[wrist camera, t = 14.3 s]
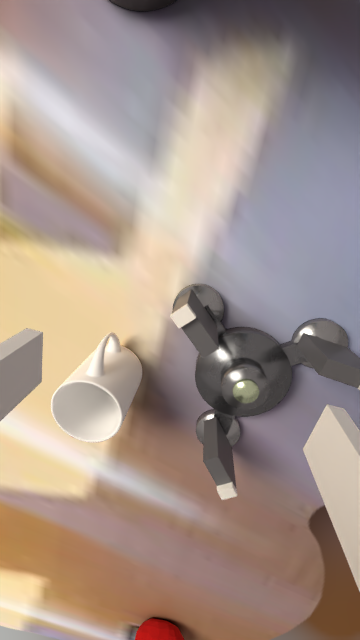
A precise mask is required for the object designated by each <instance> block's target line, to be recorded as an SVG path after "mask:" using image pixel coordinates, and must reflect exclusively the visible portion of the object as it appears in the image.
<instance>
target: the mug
mask: <svg viewBox="0 0 360 640" xmlns="http://www.w3.org/2000/svg"><path fill="white" fill-rule="evenodd" d="M109 337H110V340H109V344H108V345H106V343H107V340H108V338H109ZM141 379H142V365H141V363H140V361H139V359H138V357H137V356H136V355H135V354H134V353H133V352H132V351H131V350H129V349H128V348H126V347H124V346H121V345H120V342H119V339H118V336H117V335H116V334H115V333H113V332H111V333H108V334H107V335H106V336H105V337H104V338H103V339H102V341H101V342H100V344H99V345H98V347H97V349H96V350H95V351H93V352H92V353H91V354H90V355H89V356H88V357H87V358H86V360H85V361H84V362H83V363H82V364H81V365H80V366H79V367H78V368H77V369H76V370H75V371H74V372H73V373H72V374H71V375H70V376H69V377H68V378H67V379H66V380H65V381H64V382H63V383H62V385H61V386H60V387H59V388H58V389H57V390H56V391H55V393H54V395H53V397H52V400H51V411H52V414H53V417H54V419H55V421H56V423H57V424H58V425H59V427H60V428H61V429H62V430H63V431H64V432H66V433H67V434H68V435H70V436H72V437H74V438H76V439H78V440H81V441H85V442H102V441H105V440H108V439H110V438H111V437H113V436H114V435H115V434H116V433H117V432H118V431H119V429H120V427H121V425H122V423H123V421H124V418H125V416H126V414H127V412H128V409H129V407H130V405H131V403H132V401H133V398H134V396H135V394H136V392H137V389H138V387H139V385H140V382H141Z"/></svg>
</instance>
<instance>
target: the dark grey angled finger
mask: <svg viewBox="0 0 360 640" xmlns="http://www.w3.org/2000/svg"><path fill="white" fill-rule="evenodd" d="M203 462H204V463H205V465H206V467H207V469H208V470H209V472H210V474H211V476H212V478H213V479H214V481H215V483H216V485H217V492H218V494H219V495H220V497H221V499H222V500H224V499H228V498H232V497H236V496H237V490H236V482H235V473H234V463H233V454H232V446H231V444H230V442H229V440H228V439H227V437H226V435H225V433H224V431H223V429H222V427H221V425H220V423H219V421H218V419H217V417H214V418H211V419H208V420H205V421H204V448H203Z"/></svg>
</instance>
